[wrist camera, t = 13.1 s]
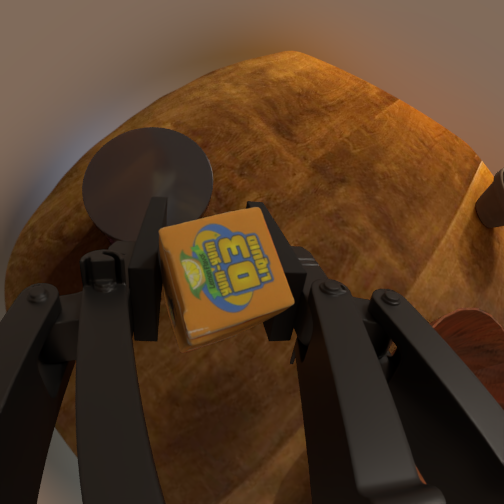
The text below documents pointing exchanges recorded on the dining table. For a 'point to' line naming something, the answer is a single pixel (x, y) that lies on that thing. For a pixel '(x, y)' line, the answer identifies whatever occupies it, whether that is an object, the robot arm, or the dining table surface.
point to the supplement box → (221, 277)
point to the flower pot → (492, 203)
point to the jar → (146, 181)
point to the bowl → (476, 347)
